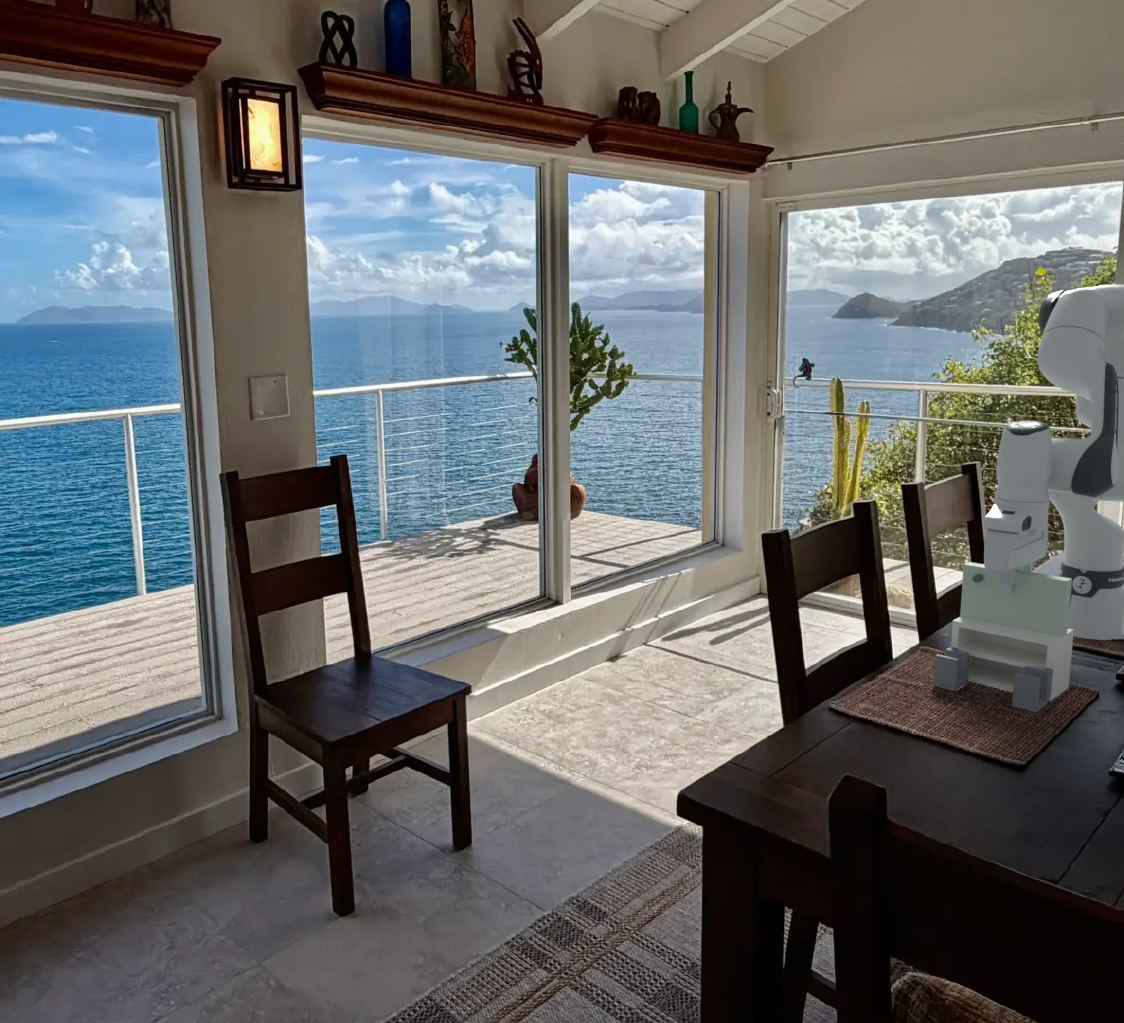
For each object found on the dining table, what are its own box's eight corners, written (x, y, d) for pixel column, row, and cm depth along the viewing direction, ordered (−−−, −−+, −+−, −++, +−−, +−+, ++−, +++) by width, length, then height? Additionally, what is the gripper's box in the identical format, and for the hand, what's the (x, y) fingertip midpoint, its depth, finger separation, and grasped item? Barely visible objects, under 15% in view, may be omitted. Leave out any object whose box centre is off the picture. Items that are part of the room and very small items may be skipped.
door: (965, 613, 190) (969, 562, 189) (1067, 633, 178) (1072, 578, 176) (957, 618, 188) (960, 565, 186) (1059, 638, 175) (1064, 582, 174)
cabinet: (969, 665, 195) (973, 610, 193) (1068, 688, 182) (1073, 629, 180) (933, 686, 184) (936, 628, 182) (1036, 712, 172) (1041, 650, 169)
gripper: (1024, 503, 189) (1019, 575, 192) (979, 520, 175) (973, 597, 177) (1060, 507, 185) (1054, 581, 187) (1016, 525, 170) (1010, 604, 173)
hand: (1014, 589), depth 182 cm, fingers open, 5 cm apart
